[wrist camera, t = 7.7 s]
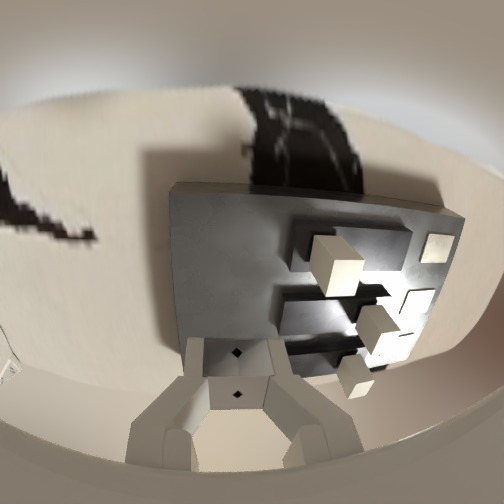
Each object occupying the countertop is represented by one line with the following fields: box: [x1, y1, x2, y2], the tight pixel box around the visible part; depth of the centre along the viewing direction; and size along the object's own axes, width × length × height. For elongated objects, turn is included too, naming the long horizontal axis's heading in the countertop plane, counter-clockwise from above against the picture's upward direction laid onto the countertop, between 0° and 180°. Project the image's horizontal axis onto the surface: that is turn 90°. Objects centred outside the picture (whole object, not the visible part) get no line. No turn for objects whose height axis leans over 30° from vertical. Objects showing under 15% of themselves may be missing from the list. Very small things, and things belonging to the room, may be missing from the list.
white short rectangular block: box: [336, 354, 374, 399], centre depth 21 cm, size 2×2×3 cm
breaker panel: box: [169, 182, 465, 378], centre depth 21 cm, size 24×17×4 cm
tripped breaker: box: [308, 235, 365, 297], centre depth 15 cm, size 2×2×3 cm
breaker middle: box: [355, 305, 401, 356], centre depth 18 cm, size 2×2×3 cm
